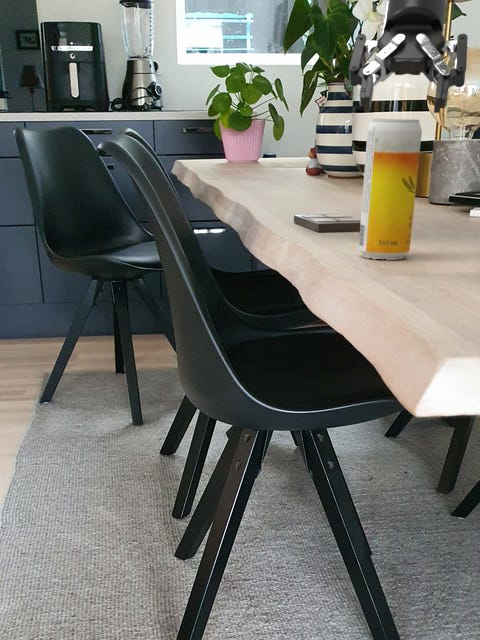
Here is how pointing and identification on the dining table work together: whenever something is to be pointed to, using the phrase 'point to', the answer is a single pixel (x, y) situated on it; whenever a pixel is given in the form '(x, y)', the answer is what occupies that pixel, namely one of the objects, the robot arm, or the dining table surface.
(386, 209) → the beer can
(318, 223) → the grey grid tile
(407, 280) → the dining table surface
